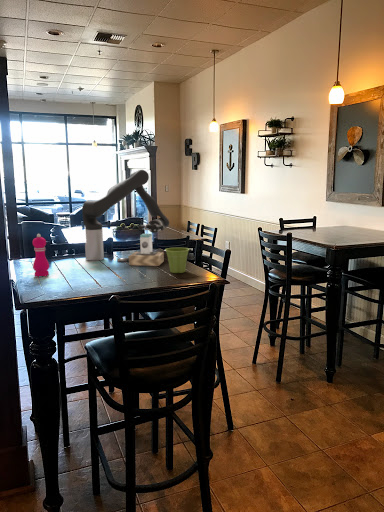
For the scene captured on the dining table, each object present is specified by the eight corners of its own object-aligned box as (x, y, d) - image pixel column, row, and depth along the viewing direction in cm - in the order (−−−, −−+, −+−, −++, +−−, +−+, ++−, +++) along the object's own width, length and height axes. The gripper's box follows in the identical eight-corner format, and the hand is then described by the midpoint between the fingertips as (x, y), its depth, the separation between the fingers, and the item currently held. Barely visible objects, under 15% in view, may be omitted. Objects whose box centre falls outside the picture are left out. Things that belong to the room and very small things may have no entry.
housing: (140, 254, 220) (139, 235, 218) (143, 252, 226) (142, 233, 225) (149, 254, 219) (149, 235, 217) (152, 252, 226) (151, 233, 224)
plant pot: (192, 269, 206) (191, 247, 204) (186, 275, 195) (186, 251, 193) (169, 268, 209) (168, 246, 207) (162, 274, 198) (161, 250, 196)
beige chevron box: (129, 265, 219) (129, 255, 218) (135, 260, 231) (135, 250, 230) (159, 265, 217) (158, 255, 216) (163, 260, 229) (163, 251, 228)
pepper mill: (45, 273, 201) (42, 232, 198) (52, 275, 196) (49, 233, 193) (31, 275, 196) (27, 233, 193) (37, 278, 191) (34, 235, 188)
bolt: (117, 262, 226) (117, 257, 225) (117, 261, 229) (117, 256, 228) (131, 261, 227) (131, 256, 227) (131, 260, 230) (131, 255, 230)
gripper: (143, 219, 250) (136, 221, 234) (166, 219, 248) (161, 222, 232) (143, 231, 251) (136, 234, 235) (166, 232, 249) (161, 235, 233)
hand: (148, 228), depth 234 cm, fingers open, 8 cm apart
